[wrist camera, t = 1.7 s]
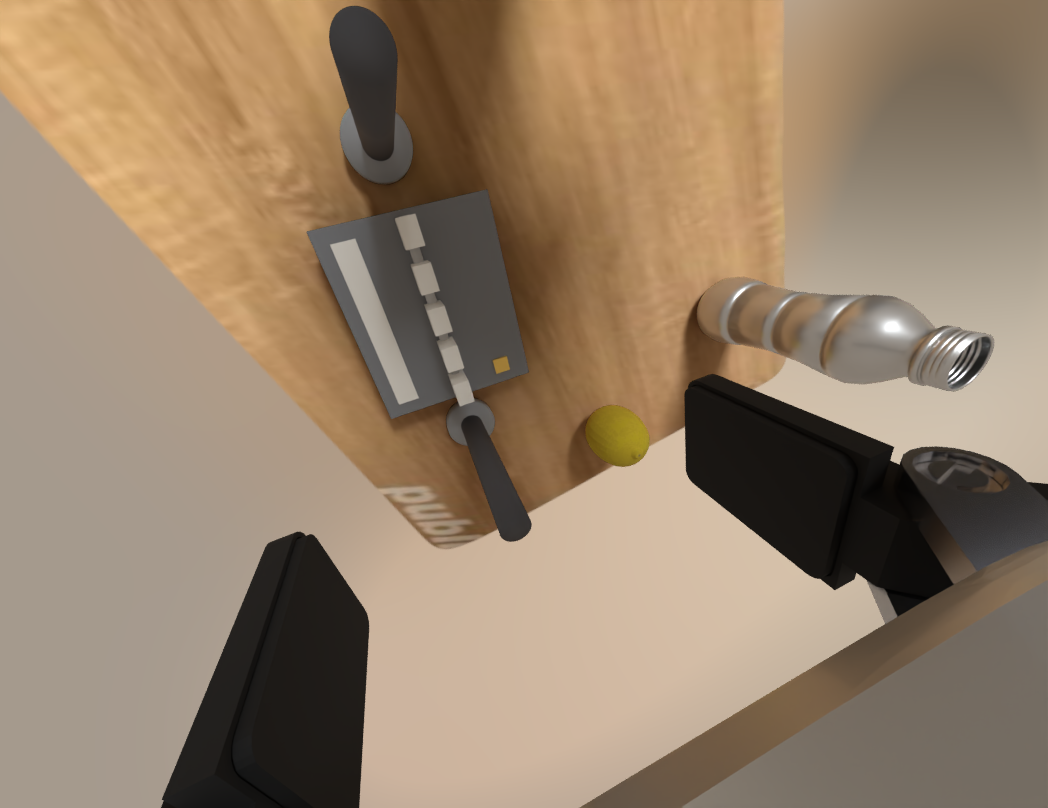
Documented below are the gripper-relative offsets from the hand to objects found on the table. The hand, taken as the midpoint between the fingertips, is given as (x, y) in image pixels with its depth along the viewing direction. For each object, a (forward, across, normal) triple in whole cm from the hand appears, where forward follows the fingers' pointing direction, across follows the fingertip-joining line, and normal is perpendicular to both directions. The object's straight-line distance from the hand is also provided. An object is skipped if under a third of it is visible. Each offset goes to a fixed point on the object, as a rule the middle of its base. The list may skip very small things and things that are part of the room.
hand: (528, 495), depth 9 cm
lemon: (+25, -13, +15) cm, 32 cm away
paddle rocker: (+21, 0, -1) cm, 21 cm away
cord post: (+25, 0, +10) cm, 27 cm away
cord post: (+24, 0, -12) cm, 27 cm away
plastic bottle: (+25, -28, +7) cm, 38 cm away
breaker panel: (+25, 0, -1) cm, 25 cm away
